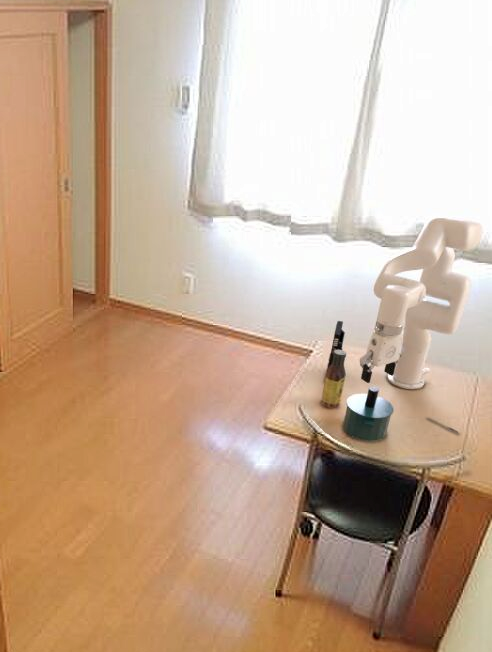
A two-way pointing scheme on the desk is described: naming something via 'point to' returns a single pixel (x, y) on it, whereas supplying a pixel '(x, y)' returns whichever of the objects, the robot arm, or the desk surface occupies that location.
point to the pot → (365, 426)
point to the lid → (370, 405)
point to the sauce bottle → (334, 380)
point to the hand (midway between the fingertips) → (377, 377)
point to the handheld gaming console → (336, 341)
